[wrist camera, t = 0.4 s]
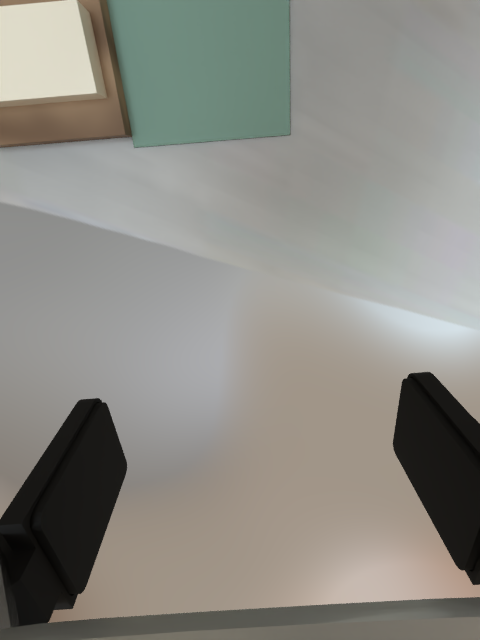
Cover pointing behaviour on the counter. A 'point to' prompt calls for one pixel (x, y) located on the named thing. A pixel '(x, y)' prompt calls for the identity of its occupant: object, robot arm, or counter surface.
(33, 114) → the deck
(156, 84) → the mat
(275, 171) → the counter surface
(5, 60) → the tile
